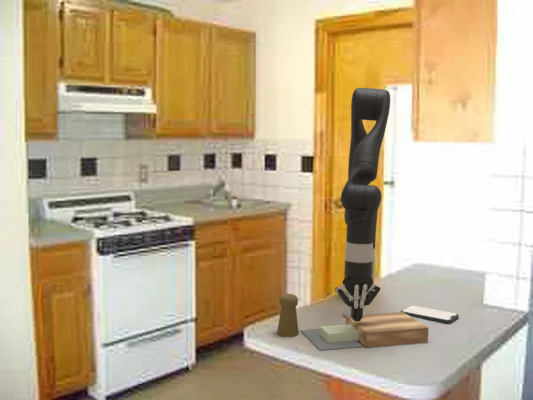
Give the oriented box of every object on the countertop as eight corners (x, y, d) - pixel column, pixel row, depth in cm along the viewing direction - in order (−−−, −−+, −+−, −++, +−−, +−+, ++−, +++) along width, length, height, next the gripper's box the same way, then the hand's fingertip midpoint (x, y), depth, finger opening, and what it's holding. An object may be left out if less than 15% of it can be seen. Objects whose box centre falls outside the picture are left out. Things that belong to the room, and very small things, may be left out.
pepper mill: (291, 338, 161) (292, 299, 159) (273, 334, 164) (273, 295, 163) (302, 332, 166) (303, 294, 165) (283, 328, 169) (284, 290, 168)
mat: (300, 331, 166) (300, 330, 166) (340, 328, 170) (340, 327, 170) (319, 350, 152) (319, 349, 152) (362, 347, 155) (362, 345, 155)
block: (320, 335, 163) (320, 326, 162) (350, 332, 165) (350, 324, 165) (328, 342, 157) (328, 333, 157) (359, 340, 159) (359, 331, 159)
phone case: (399, 316, 184) (449, 326, 175) (399, 311, 184) (449, 320, 174) (410, 309, 191) (459, 318, 182) (410, 304, 191) (460, 313, 181)
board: (345, 329, 169) (346, 316, 168) (402, 325, 173) (403, 311, 173) (366, 347, 155) (367, 332, 155) (427, 341, 160) (428, 327, 160)
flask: (369, 314, 183) (370, 282, 182) (365, 321, 177) (366, 288, 175) (346, 311, 186) (347, 280, 185) (341, 318, 179) (342, 286, 178)
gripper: (375, 254, 165) (372, 314, 167) (330, 256, 161) (328, 318, 163) (387, 260, 157) (384, 323, 159) (341, 262, 154) (339, 326, 156)
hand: (356, 320), depth 161 cm, fingers closed
